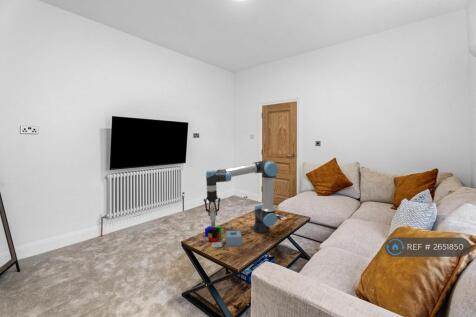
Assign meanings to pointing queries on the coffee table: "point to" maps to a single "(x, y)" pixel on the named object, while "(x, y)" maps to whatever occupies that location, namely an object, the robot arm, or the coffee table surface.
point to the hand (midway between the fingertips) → (213, 219)
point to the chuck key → (212, 215)
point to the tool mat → (216, 244)
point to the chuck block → (233, 238)
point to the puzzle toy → (213, 233)
